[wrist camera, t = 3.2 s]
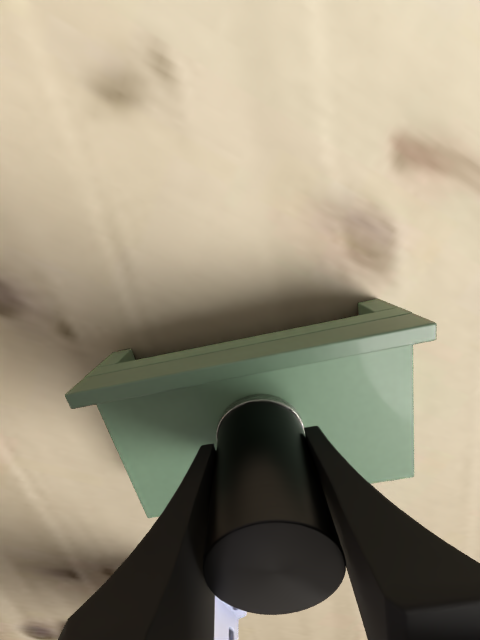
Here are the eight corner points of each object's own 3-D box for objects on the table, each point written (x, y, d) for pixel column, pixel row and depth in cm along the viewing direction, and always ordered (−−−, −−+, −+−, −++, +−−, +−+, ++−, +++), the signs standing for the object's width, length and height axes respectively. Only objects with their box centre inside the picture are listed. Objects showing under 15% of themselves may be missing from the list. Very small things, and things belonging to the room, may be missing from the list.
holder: (318, 442, 14) (374, 588, 8) (245, 476, 14) (249, 632, 9) (275, 378, 12) (306, 495, 7) (200, 419, 13) (168, 556, 7)
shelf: (385, 438, 17) (433, 503, 13) (162, 475, 18) (137, 547, 14) (378, 298, 14) (437, 322, 10) (112, 352, 15) (63, 395, 11)
